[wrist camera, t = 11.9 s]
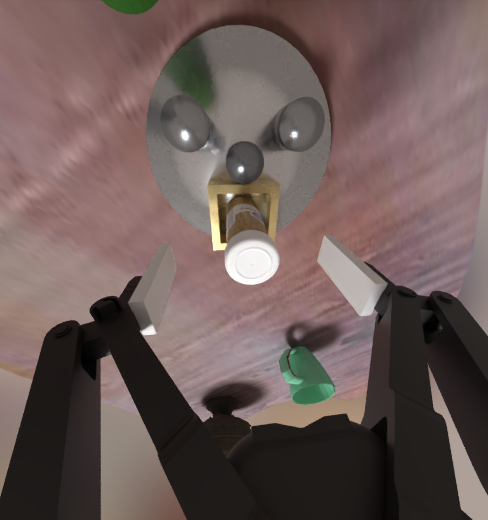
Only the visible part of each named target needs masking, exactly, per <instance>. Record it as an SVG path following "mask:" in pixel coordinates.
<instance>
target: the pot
mask: <svg viewBox="0 0 488 520" xmlns="http://www.w3.org/2000/svg"><path fill="white" fill-rule="evenodd" d="M237 404H238V401H237V400H236V399H234V398H232V397H218V398H214V399H212V400H210V401H208V402H207V405H206V406H207V409H208V410H209V411H210V412H212V414H213V418H211V417H210V418H209V419H207V420H206V421H205V422H203V423H204V425H205V426H206V428H207V429H208V431H209V432H210V434H211V435H212V436H213V438H214V439H215V441H216V442H217V444H218V445H219V447H220V448H221V450H222V451H223V453H224V454H225V456H226V457H227V456H228V454H229V453H230V451H231V450H232V448H233V447H234V446H235V445H236V444H237V443H238V442H239V441H240V440H241V439H242V438H243V437H245V436H246V435H248V434H250V433H251V429H250V426H251V425H250V424H249V423H248V422H247V421H245V420H242V419H241V418H238V417H234V415H231V414H232V412H233V410H234V409H235V408H236V407H237Z"/></svg>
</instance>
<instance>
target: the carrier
mask: <svg viewBox="0 0 488 520" xmlns="http://www.w3.org/2000/svg"><path fill="white" fill-rule="evenodd" d="M146 139H147V150H148V156H149V161H150V165H151V168H152V171H153V175H154V177H155V179H156V182H157V184H158V186H159V188H160V190H161V192H162V193H163V195H164V197H165V198H166V200H167V201H168V203H169V204H170V205H171V207H172V208H173V209H174V210H175V211H176V212H177V213H178V214H179V216H181V217H182V218H183V219H184V220H185V221H186V222H187V223H189V224H190V225H192V226H193V227H195V228H196V229H198V230H200V231H202V232H204V233H205V234H208V235H211V236H212V238H213V248H214V250H225V248H226V246H227V240H226V220H227V216H226V210H227V207H228V204H229V203H230V202H231V201H232V200H234V199H235V198H238V197H247V198H250V199H252V200H253V201H254V202H255V204H256V205H257V208H258V211H259V213H260V215H261V218H262V220H263V222H264V225H265V229H266V231H267V233H268V236H270V237H271V238H272V240H273V241H274V243H275V235H276V232H277V231H279V230H281V229H282V228H284V227H285V226H287V225H288V224H290V223H291V222H292V221H293V220H295V219H296V218H297V217H298V216H299V215H300V214H301V213H302V212H303V210H304V209H305V208H306V207H307V206H308V204H309V203H310V201H311V200H312V198H313V197H314V195H315V194H316V192H317V190H318V188H319V186H320V184H321V181H322V179H323V176H324V174H325V171H326V167H327V163H328V159H329V153H330V146H331V123H330V114H329V109H328V104H327V100H326V97H325V94H324V91H323V88H322V86H321V84H320V82H319V79H318V77H317V75H316V74H315V72H314V70H313V69H312V67H311V66H310V64H309V63H308V61H307V60H306V59H305V58H304V57H303V56H302V54H301V53H300V52H299V51H298V50H297V49H296V48H295V47H293V46H292V45H291V44H290V43H288V42H287V41H286V40H285V39H283V38H281V37H279V36H278V35H276V34H274V33H272V32H270V31H267V30H264V29H261V28H258V27H254V26H247V25H227V26H222V27H218V28H214V29H211V30H208V31H206V32H204V33H202V34H200V35H198V36H196V37H194V38H193V39H192V40H190V41H189V42H188V43H186V44H185V45H183V46H182V47H181V48H180V49H179V50H178V51H177V53H176V54H175V55H174V56H173V57H172V58H171V59H170V61H169V62H168V63H167V65H166V66H165V68H164V69H163V71H162V72H161V74H160V77H159V79H158V81H157V83H156V85H155V87H154V90H153V93H152V96H151V99H150V103H149V109H148V114H147V125H146Z"/></svg>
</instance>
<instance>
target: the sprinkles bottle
mask: <svg viewBox="0 0 488 520" xmlns="http://www.w3.org/2000/svg"><path fill="white" fill-rule="evenodd" d="M226 216H227V220H226V240H227V246H226V248H225V267H226V270H227V272H228V274H229V275H230V276H231V277H232V278H233V279H234V280H236V281H238V282H240V283H243V284H258V283H262V282H264V281H266V280H268V279H269V278H270V277H272V276H273V275H274V273H275V272H276V270H277V268H278V266H279V261H280V258H279V253H278V250H277V248H276V245H275V243H274V241H273V240H272V238H271V237H270V236H268V233H267V231H266V229H265V225H264V222H263V220H262V218H261V215H260V213H259V211H258V208H257V205H256V204H255V202H254V201H253V200H252V199H250V198H247V197H238V198H235V199H234V200H232V201H231V202H230V203H229V204H228V207H227V210H226Z"/></svg>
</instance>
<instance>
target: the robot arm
mask: <svg viewBox="0 0 488 520" xmlns="http://www.w3.org/2000/svg"><path fill="white" fill-rule="evenodd" d="M317 262H318V263H319V264H320V265H321V267H322V268H323V269H324V271H325V272H326V273H327V274H328V276H329V277H330V278H331V280H332V281H333V282H334V283H335V285H336V286H337V287H338V289H339V290H340V291H341V292H342V294H343V295H344V296H345V297H346V299H347V300H348V301H349V303H350V304H351V305H352V306H353V308H354V309H355V310H356V312H357V313H358V314H359V315H360V316H366V315H371V313H372V312H373V310H374V309H375V310H376V311H377V312H378V314H377V316H376V317H375V319H374V321H373V323H372V325H374V324H375V329H374V337H373V346H372V354H371V363H370V371H369V380H368V388H367V397H366V405H365V413H364V417H363V420H362V422H361V425H360V424H358V423H355V422H352V421H350V420H349V418H348V416H347V414H339V415H331V416H324V417H322V418H321V419H319V420H317V421H315V422H313V423H311V424H309V425H308V426H306V427H304V428H298V427H293V426H287V425H282V424H277V423H273V424H266V425H259V426H252V427H251V433H250V434H248V435H246V436H245V437H243V438H242V439H241V440H240V441H239V442H238V443H237V444H236V445H235V446H234V447H233V448H232V450H231V451H230V453H229V454H228V456H227V457H226V456H225V454H224V453H223V451H222V450H221V448H220V447H219V445H218V444H217V442H216V441H215V439H214V438H213V436H212V435H211V434H210V432H209V431H208V429H207V428H206V426H205V425H204V423H203V422H202V420H201V419H200V418H199V416H198V415H197V414H195V413H194V411H193V410H192V409H191V407H190V406H189V404H188V403H187V401H186V400H185V398H184V397H183V395H182V394H181V392H180V391H179V389H178V388H177V386H176V385H175V383H174V382H173V380H172V379H171V377H170V376H169V374H168V373H167V371H166V370H165V368H164V367H163V365H162V364H161V363H160V361H159V360H158V358H157V357H156V355H155V354H154V352H153V351H152V349H151V348H150V346H149V345H148V343H147V342H146V340H145V339H144V337H143V336H142V334H141V333H140V329H141V331H142V333H143V335H152V334H157V331H158V328H159V325H160V322H161V319H162V316H163V312H164V309H165V306H166V303H167V300H168V297H169V294H170V291H171V288H172V284H173V281H174V278H175V275H176V272H177V267H176V262H175V258H174V254H173V250H172V246H171V243H161V244H160V246H159V248H158V249H157V251H156V253H155V255H154V257H153V258H152V260H151V262H150V264H149V266H148V267H147V269H146V271H145V273H144V275H143V276H135V277H134V278H133V279H132V280H130V281H129V283H128V284H127V286H126V288H125V289H124V291H123V293H122V294H121V295H120V297H119V298H118V297H116V296H109V297H105V298H102V299H100V300H98V301H96V302H95V303H94V304H93V305H92V306H91V308H90V314H91V315H92V317H93V318H94V320H95V321H93V322H90V323H86V324H83V325H80V324H79V323H78V322H77V321H75V320H70V321H66V322H63V323H60V324H58V325H56V326H55V327H53V328H52V329H51V330H50V331H49V332H48V333H47V334H46V336H45V338H44V341H43V345H42V348H41V352H40V356H39V359H38V363H37V366H36V370H35V374H34V377H33V381H32V385H31V389H30V392H29V396H28V399H27V403H26V406H25V410H24V414H23V417H22V421H21V425H20V428H19V432H18V435H17V439H16V443H15V446H14V450H13V453H12V457H11V460H10V464H9V468H8V471H7V475H6V479H5V482H4V486H3V490H2V493H1V496H0V520H101V505H100V504H101V460H100V459H101V454H100V453H101V450H100V449H101V448H100V447H101V445H100V443H101V442H100V441H101V438H100V437H101V435H100V432H101V431H100V430H101V428H100V427H101V426H100V425H101V424H100V421H101V417H100V415H101V411H100V408H101V407H100V406H101V404H100V403H101V393H100V358H102V357H105V356H108V355H111V354H112V356H113V359H114V361H115V363H116V365H117V367H118V369H119V371H120V373H121V375H122V378H123V380H124V382H125V384H126V386H127V388H128V390H129V392H130V394H131V397H132V399H133V401H134V403H135V405H136V407H137V409H138V411H139V413H140V416H141V418H142V420H143V422H144V424H145V426H146V428H147V430H148V432H149V434H150V437H151V439H152V441H153V443H154V445H155V447H156V450H157V452H158V457H159V460H160V463H161V465H162V467H163V469H164V471H165V474H166V476H167V478H168V480H169V482H170V484H171V486H172V489H173V491H174V493H175V495H176V497H177V499H178V501H179V503H180V506H181V508H182V510H183V512H184V514H185V516H186V518H187V520H472V519H471V518H470V517H469V516H468V515H467V514H466V513H464V512H463V511H462V510H461V508H460V502H459V496H458V490H457V484H456V479H455V473H454V467H453V461H452V455H451V449H450V443H449V437H448V431H447V426H446V422H445V419H444V418H443V416H442V415H440V414H438V413H437V412H435V411H434V408H433V401H432V395H431V386H430V379H429V372H428V365H429V367H430V370H431V372H432V374H433V376H434V378H435V381H436V383H437V385H438V388H439V390H440V392H441V395H442V397H443V399H444V401H445V404H446V406H447V408H448V410H449V413H450V415H451V417H452V420H453V422H454V424H455V426H456V428H457V431H458V433H459V435H460V438H461V440H462V442H463V445H464V447H465V449H466V451H467V454H468V456H469V458H470V461H471V462H472V465H473V467H474V469H475V471H476V474H477V476H478V478H479V480H480V482H481V484H482V486H483V488H484V489H485V491H486V493H487V495H488V336H487V334H486V333H485V332H484V331H483V330H482V328H481V327H480V326H479V324H478V323H477V322H476V321H475V320H474V318H473V317H472V316H471V314H470V313H469V312H468V311H467V310H466V308H465V307H464V306H463V304H462V303H461V302H460V301H459V300H458V299H457V298H455V297H454V296H452V295H451V294H448V293H446V292H441V291H433V292H432V293H431V294H430V296H429V297H427V296H421V295H417V294H416V293H415V292H414V291H413V290H411V289H409V288H407V287H403V286H396V285H394V284H393V283H392V282H391V281H390V280H389V279H387V278H386V277H385V276H384V275H383V274H381V273H380V272H379V271H377V269H376V268H374V267H373V266H372V265H370V264H368V263H366V262H363V261H362V260H360V259H359V258H358V257H357V256H356V255H355V254H354V253H352V252H351V251H350V250H349V249H348V248H347V247H346V246H344V245H343V244H342V243H341V242H340V241H339V240H338V239H336V238H335V237H334V236H333V235H324V237H323V241H322V245H321V249H320V253H319V257H318V261H317ZM441 327H442V330H441ZM427 363H428V364H427Z"/></svg>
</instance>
